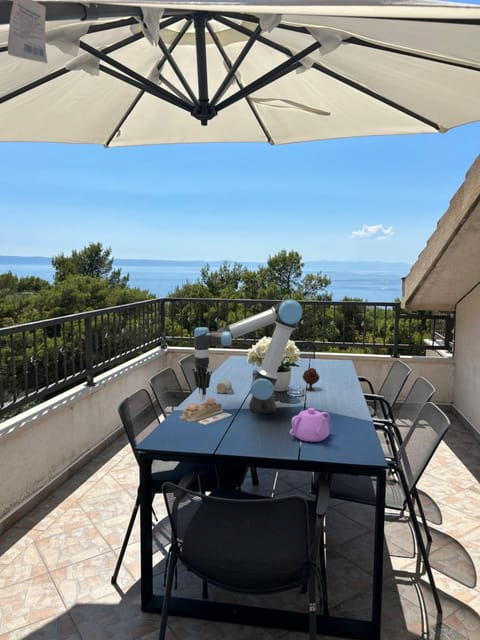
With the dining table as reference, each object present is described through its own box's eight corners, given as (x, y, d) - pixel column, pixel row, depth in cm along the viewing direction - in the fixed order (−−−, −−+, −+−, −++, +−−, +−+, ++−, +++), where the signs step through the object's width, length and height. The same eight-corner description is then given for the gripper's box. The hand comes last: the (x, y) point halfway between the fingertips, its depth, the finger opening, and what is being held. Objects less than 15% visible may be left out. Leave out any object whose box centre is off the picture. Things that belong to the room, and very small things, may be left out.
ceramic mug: (215, 393, 290) (215, 381, 289) (221, 390, 297) (221, 378, 296) (231, 395, 286) (231, 383, 285) (236, 392, 293) (236, 380, 292)
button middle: (207, 411, 246) (207, 405, 246) (201, 413, 243) (201, 407, 242) (201, 410, 249) (201, 403, 249) (195, 412, 246) (195, 405, 245)
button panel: (223, 412, 252) (223, 404, 251) (192, 422, 234) (192, 413, 234) (209, 408, 258) (209, 400, 258) (179, 418, 241) (179, 409, 240)
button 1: (198, 411, 241) (198, 405, 240) (192, 413, 237) (192, 407, 237) (192, 409, 244) (192, 403, 243) (185, 411, 240) (185, 405, 240)
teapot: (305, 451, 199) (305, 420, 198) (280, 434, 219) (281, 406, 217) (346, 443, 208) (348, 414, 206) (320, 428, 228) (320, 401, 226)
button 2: (216, 405, 251) (216, 399, 251) (210, 407, 248) (210, 401, 248) (210, 404, 254) (210, 397, 254) (204, 405, 251) (204, 399, 251)
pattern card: (231, 415, 246) (231, 414, 246) (205, 424, 231) (205, 423, 231) (224, 413, 249) (224, 412, 249) (198, 422, 234) (198, 421, 234)
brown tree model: (321, 389, 302) (322, 367, 300) (314, 393, 292) (315, 370, 291) (306, 387, 307) (307, 365, 306) (299, 390, 298) (300, 368, 296)
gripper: (215, 357, 241) (216, 400, 244) (198, 354, 250) (199, 396, 252) (205, 359, 236) (206, 404, 238) (188, 356, 244) (189, 399, 247)
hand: (202, 400), depth 245 cm, fingers closed
